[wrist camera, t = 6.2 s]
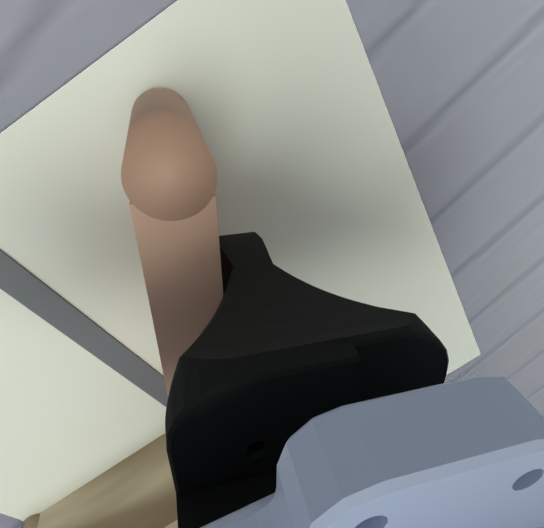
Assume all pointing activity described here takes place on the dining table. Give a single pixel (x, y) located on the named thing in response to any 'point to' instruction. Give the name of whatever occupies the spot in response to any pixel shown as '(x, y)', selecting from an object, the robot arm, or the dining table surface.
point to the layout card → (230, 213)
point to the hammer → (120, 496)
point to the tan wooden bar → (173, 220)
